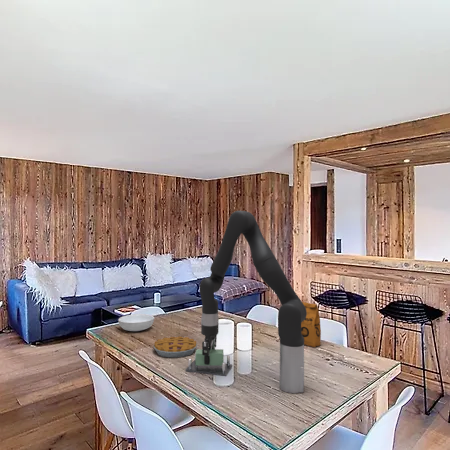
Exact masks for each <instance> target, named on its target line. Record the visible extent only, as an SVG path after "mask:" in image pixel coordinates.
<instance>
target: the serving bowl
mask: <svg viewBox="0 0 450 450" xmlns="http://www.w3.org/2000/svg"><path fill="white" fill-rule="evenodd" d="M154 321H155V317H154V316H153V315H151V314H147V313H136V314H128V315H127V314H126V315H123V316H121V317H119V318H118V324H119V327H120V328H122V329H123V330H125V331H127V332H128V331H129V332H142V331H144V330H147V329H150V327H152V325H153V324H154Z"/></svg>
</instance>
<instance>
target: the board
mask: <svg viewBox="0 0 450 450" xmlns="http://www.w3.org/2000/svg"><path fill="white" fill-rule="evenodd" d="M195 352H196V361H195V365H207V364H204V355H202V348H201V349H200V348H199V349H198V348H195ZM206 353H207V351H206ZM224 358H225V357H224V349H223V348H222V349H221V348H220V349H217V348H215V349H212V350H211V351H210V364H209V365H222V363H223V362H224Z"/></svg>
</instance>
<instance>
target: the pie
mask: <svg viewBox="0 0 450 450" xmlns="http://www.w3.org/2000/svg"><path fill="white" fill-rule="evenodd" d="M153 348H154V350H155V351H156V353H157V355H158V356H161V357H162V358H182V357H188V356H191V355H192V354H194V353H195V351H196V349H197V348H198V343H197V340H195V339H194V338H190V337H188V336H186V337H185V336H184V337H183V336H177V337H176V336H170V337H163V338H158V339H157V340H155V341H154V344H153Z"/></svg>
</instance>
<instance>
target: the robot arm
mask: <svg viewBox="0 0 450 450" xmlns="http://www.w3.org/2000/svg"><path fill="white" fill-rule="evenodd" d="M227 221H228V222H227V224H226V227H225V228H226V229H225V231H224V235H223V237H222V241H221V243H220V245H219V249H218V251H217V253H216V254H215V257H214V259H213V261H212V263H211V265H210V272H211V273H210V276H209V277H204V278H202V280H201V281H200V283H199V295H200V300H201V308H202V309H201V319H200V320H201V322H200V323H201V326H200V327H201V328H200V329H201V331H200V333H201V335H202V336H204V339H203V341H202V342H201V347H202V348H201V349H202V355H204V364H207V365H209V364H210V351H211V350H212V349H216V347H217V336H218V335H219V323H220V322H219V321H220V320H219V319H220V318H219V301H218V299H216V298H215V293H216V292H219V291H220V289H221V288H222V286H223V283H224V280H225V275H226V272H228V269H229V267H230V265H231V263H232V260H233V256H234V250H235V246H236V243H237V241H238V240H239V238H240V236H241V235H242V236H243V237H244V239H245V240H246V242H247V244H248V246H249V249H250V255H251V260H252V264H253V265H254V268H255V269H256V271H257V273H258V275H259V277H260V278H261V280H262V281H263V282H264V283H265V284H266V285H267V286H268V288H270V289H271V290H272V291H273V292H274V293H275V294H276V296H277V298H278V300H279V302H280V304H281V306H280V307H279V309H278V311H277V333H278V338H279V389H280V390H281V391H283V392H286V393H290V394H297V393H298V394H299V393H304V390H305V344H304V337H303V336H302V334H301V323H302V322H303V321H304V320H305V318H306V315H307V312H306V308H305V306H304V304H303V303H302V302H303V301H302V300H301V298H300V297H299V296H298V294H297V292H295V290H294V288H293V287H292V285H291V284H290V281H289V280H288V277H287V276H286V274H285V272H284V270H283V269H282V268H283V267H281V265H280V262H279V261H278V259H277V257H276V256H275V254H274V253H273V250H272V249H271V248H270V246H269V244H268V242H267V240H266V239H265V238H264V236H263V234H262V231H261V228H260V227H259V225H258V222H257V220H256V218H255V216H254V215H253V214H252V213H251V212H250V211H248V210H247V211H246V210H235V211H233V212H232V213H231V214H230V216H229V218H228V220H227ZM206 351H207V353H206Z"/></svg>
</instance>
